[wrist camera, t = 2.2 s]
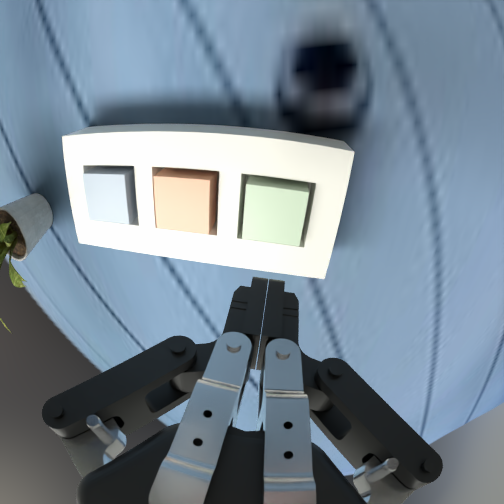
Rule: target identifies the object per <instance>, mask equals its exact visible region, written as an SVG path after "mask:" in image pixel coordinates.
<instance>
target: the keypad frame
mask: <svg viewBox="0 0 504 504" xmlns="http://www.w3.org/2000/svg"><path fill="white" fill-rule="evenodd" d="M62 141H63V152H64V161H65V169H66V177H67V184H68V190H69V196H70V202H71V208H72V213H73V218H74V223H75V227H76V232H77V236H78V241H79V243H83V244H89V245H95V246H101V247H107V248H113V249H120V250H126V251H132V252H139V253H145V254H151V255H158V256H164V257H171V258H178V259H184V260H191V261H198V262H205V263H211V264H218V265H225V266H232V267H239V268H246V269H254V270H261V271H268V272H276V273H283V274H290V275H298V276H306V277H313V278H321V279H325V275H326V271H327V268H328V264H329V261H330V257H331V253H332V249H333V245H334V242H335V238H336V234H337V230H338V226H339V222H340V217H341V213H342V209H343V205H344V200H345V196H346V191H347V187H348V182H349V177H350V173H351V168H352V163H353V158H354V151H353V150H352V149H351V148H350V147H349V146H348V145H347V144H346V143H345V142H344V141H340V140H335V139H330V138H324V137H318V136H312V135H306V134H299V133H292V132H285V131H277V130H268V129H259V128H249V127H237V126H223V125H205V124H124V125H106V126H93V127H87V128H84V129H81V130H78V131H75V132H72V133H70V134H67V135H64V136H62ZM97 165H119V166H134V174H135V188H136V200H137V210H138V216H137V217H136V218H135V219H134V220H133V221H132V222H131V223H130V224H121V223H113V222H104V221H96V220H89V214H88V209H87V203H86V196H85V189H84V182H83V173H85V172H86V171H88V170H90V169H92V168H93V167H95V166H97ZM165 167H170V168H186V169H200V170H212V171H217V196H216V221H215V223H214V225H213V227H212V229H211V231H210V233H209V234H202V233H194V232H186V231H179V230H170V229H162V228H157V224H156V211H155V196H154V177H153V176H154V175H156V174H157V173H158V172H160V171H161V170H162V169H164V168H165ZM250 174H252V175H260V176H268V177H276V178H284V179H291V180H298V181H305V182H307V183H308V189H309V196H308V202H307V208H306V213H305V219H304V224H303V229H302V235H301V240H300V245H299V246H292V245H285V244H278V243H270V242H263V241H256V240H248V239H242V231H243V218H244V205H245V193H246V183H247V181H248V179H249V177H250Z"/></svg>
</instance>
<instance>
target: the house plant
mask: <svg viewBox="0 0 504 504" xmlns="http://www.w3.org/2000/svg"><path fill="white" fill-rule="evenodd" d="M52 222H53V214H52V210H51V207H50V205H49V203H48V202H47V200H46V199H45V198H44V197H43V196H42V195H40V194H37V193H34V194H31V195H29V196H26V197H24V198H21V199H19V200H16V201H14V202H12V203H9V204H7V205H5V206H2V207H0V268H1V265H2V262H3V259H4V258H5V256H6V254H8V255H9V273H10V278H11V280H12V283H13V284H14V285H15V286H16V287H26V286H24V285H23V283H22V281H25V280H24V279H23V278H22V277H21V276H20V275H19V274H18V272H17V271H16V270H15V269H14V267H13V266H12V264H11V258H13V259H15V260H17V261H22V260H24V259H25V258H26V257H27V256H28V255H29V253H30V252H31V251H32V249H33V248H34V247H35V245H36V244H37V243H38V242H39V240H40V239H41V238H42V237H43V235H44V234H45V233H46V232H47V230H48V229H49V228H50V227H51V225H52ZM0 319H1V318H0ZM1 321H2V320H1ZM2 323H3V321H2ZM3 324H4V323H3ZM4 326H5V324H4ZM5 327H6V326H5ZM6 328H7V327H6ZM7 329H8V328H7Z"/></svg>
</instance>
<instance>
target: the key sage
mask: <svg viewBox="0 0 504 504" xmlns="http://www.w3.org/2000/svg"><path fill="white" fill-rule="evenodd" d="M308 196H309V189H308V183H307V182H305V181H298V180H291V179H284V178H276V177H268V176H260V175H252V174H250V177H249V179H248V181H247V183H246V193H245V205H244V218H243V231H242V239H248V240H256V241H263V242H270V243H278V244H285V245H292V246H299V245H300V240H301V235H302V229H303V224H304V219H305V213H306V208H307V202H308Z"/></svg>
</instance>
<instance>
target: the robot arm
mask: <svg viewBox="0 0 504 504" xmlns="http://www.w3.org/2000/svg"><path fill="white" fill-rule="evenodd" d="M267 284H268V279H266V278H258V277H253V279H252V284H251V287H245V286H240V287H239V288H238V289H237V290H236V291H235V292H234V294H233V298H232V302H231V305H230V309H229V313H228V316H227V320H226V324H225V327H224V331H223V334H222V335H221V336H220V337H219V338H218V339H217V340H215V341H213V342H211V343H206V344H195V343H194V342H193V341H192V340H191V339H190V338H188V337H185V336H173V337H170V338H168V339H166V340H164V341H162V342H161V343H159V344H157V345H155V346H153V347H151V348H149V349H147V350H146V351H144V352H142V353H140V354H138V355H136V356H134V357H132V358H130V359H128V360H126V361H124V362H123V363H121V364H119V365H117V366H115V367H113V368H111V369H109V370H107V371H105V372H103V373H101V374H99V375H97V376H95V377H93V378H91V379H89V380H87V381H85V382H83V383H81V384H79V385H77V386H75V387H73V388H71V389H69V390H67V391H65V392H63V393H60V394H58V395H57V396H54V397H52V398H50V399H49V400H48V401H47V402H46V403H45V404H44V406H43V409H42V417H43V420H44V422H45V423H46V424H47V425H48V426H49V427H50V428H51V429H52V430H53V431H54V432H55V433H56V434H57V435H58V436H59V437H60V438H61V439H62V441H63V443H64V445H65V447H66V449H67V451H68V453H69V455H70V457H71V459H72V460H73V462H74V464H75V465H76V468H77V469H78V471H79V473H80V475H81V476H82V478H83V479H82V480H81V482H80V483H79V485H78V488H77V492H76V502H77V504H402V503H403V502H404V501H405V500H406V498H408V497H409V496H410V495H411V494H412V493H413V491H414V490H416V489H418V488H420V487H423V486H425V485H427V484H429V483H431V482H433V481H434V480H436V479H437V478H438V477H439V476H440V474H441V471H442V468H443V464H442V459H441V457H440V456H439V455H438V454H437V453H436V452H435V450H433V449H432V448H431V447H430V446H429V445H428V444H427V443H426V442H425V441H424V440H423V439H422V438H421V437H420V436H419V435H418V434H417V433H416V432H415V431H414V430H413V429H412V428H411V427H410V426H409V425H408V424H407V423H406V422H405V421H404V420H403V419H402V418H401V417H400V416H399V415H398V414H397V413H396V412H395V411H394V410H393V409H392V408H391V407H390V406H389V405H388V404H387V403H386V402H385V401H384V400H383V399H382V398H381V397H380V396H379V395H378V394H377V393H376V392H375V391H374V390H373V389H372V388H371V387H370V386H369V385H368V384H367V383H366V382H365V381H364V380H363V379H362V378H361V377H360V376H359V375H358V374H357V373H356V372H355V371H354V370H353V369H352V368H351V367H350V366H349V365H348V364H347V363H346V362H345V361H343V360H341V359H338V358H328V359H325V360H323V361H322V362H320V361H318V360H315V359H312V358H310V357H308V356H307V355H305V354H304V353H303V352H302V351H301V349H300V347H299V344H298V323H299V318H298V316H299V311H298V310H299V301H298V299H297V297H296V296H295V294H294V293H289V292H284V285H285V281H281V280H273V279H269V285H268V292H267V298H266V291H267ZM265 298H266V305H265ZM264 306H265V312H264ZM263 313H264V319H263ZM262 320H263V326H262ZM261 327H262V333H261ZM260 334H261V341H260ZM259 341H260V348H259V355H258V362H257V369H256V370H261V374H260V381H259V386H258V408H257V424H256V431H243V430H240V429H237V428H235V426H236V421H237V417H238V413H239V410H240V406H241V402H242V399H243V395H244V391H245V388H246V383H247V381H248V379H249V374H250V369H255V365H256V359H257V353H258V347H259ZM189 398H190V400H189V402H188V405H187V407H186V410H185V412H184V415H183V417H182V420H181V422H180V423H177V424H174V425H171V426H168V427H166V428H164V429H163V430H161V431H159V432H158V433H156V434H155V435H153V436H152V437H150V438H148V439H147V440H145V441H144V442H142V443H141V444H139V445H137V446H136V447H134V448H133V449H131V450H129V451H127V452H126V453H124V454H122V455H121V456H119V457H117V458H115V457H116V456H117V455H118V454H119V453H120V452H122V451H123V449H124V448H125V446H126V436H127V435H128V434H130V433H132V432H134V431H136V430H137V429H139V428H141V427H143V426H145V425H146V424H148V423H150V422H151V421H153V420H155V419H157V418H158V417H160V416H162V415H163V414H165V413H167V412H168V411H170V410H171V409H173V408H175V407H176V406H178V405H180V404H181V403H183V402H184V401H186V400H187V399H189ZM310 418H311V419H312V420H313V421H314V423H315V424H316V425H317V426H318V427H319V428H320V430H321V431H322V432H323V433H324V434H325V435H326V437H327V438H328V439H329V440H330V441H331V442H332V443H333V445H334V446H335V447H336V448H337V449H338V450H339V451H340V453H341V454H342V455H343V456H344V457H345V458H346V459H347V460H348V461H349V462H350V464H351V465H352V466H353V467H354V468H355V469H356V471H355V473H354V476H353V481H354V484H355V486H356V487H357V489H358V491H359V493H358V492H357V491H356V490H355V489H354V487H353V486H352V485H351V484H350V483H349V482H348V480H347V479H346V478H345V477H344V476H343V474H342V473H341V472H340V471H339V470H338V468H337V467H336V466H335V465H334V463H333V462H332V461H331V460H330V458H329V457H328V456H327V455H326V453H325V452H324V451H323V450H322V449H321V448H320V447H318V446H317V445H315V444H314V443H312V442H311V429H310ZM114 458H115V459H114Z"/></svg>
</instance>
